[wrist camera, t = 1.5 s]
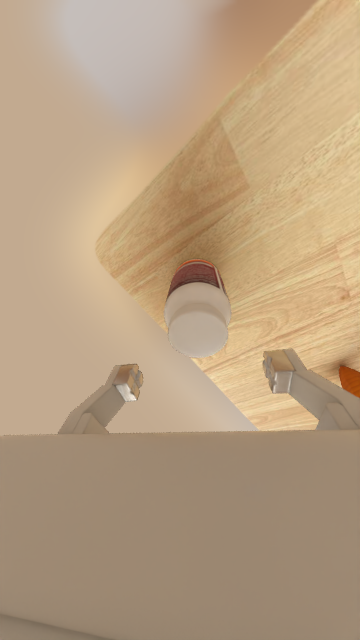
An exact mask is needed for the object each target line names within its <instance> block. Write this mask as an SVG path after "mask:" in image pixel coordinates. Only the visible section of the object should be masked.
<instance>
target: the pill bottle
mask: <svg viewBox="0 0 360 640" xmlns="http://www.w3.org/2000/svg"><path fill="white" fill-rule="evenodd" d="M164 319H165V322H166V325H167V327H168V339H169V342H170V344H171V345H172V347H173V348H174V349H175V350H176V351H178V352H179V353H181V354H183V355H185V356H188V357H194V358H203V357H208V356H211V355H213V354H215V353H217V352H219V351H220V350H221V349H222V348H223V347H224V346H225V344H226V342H227V339H228V328H227V327H228V325H229V322H230V319H231V306H230V302H229V299H228V296H227V293H226V290H225V287H224V284H223V281H222V278H221V275H220V273H219V271H218V269H217V268H216V267H215V266H214V265H213V264H212V263H210V262H209V261H206V260H203V259H191V260H188V261H186V262H184V263H182V264H181V265H180V266H179V267H178V268H177V269H176V271H175V273H174V275H173V278H172V282H171V285H170V289H169V293H168V296H167V300H166V304H165V308H164Z"/></svg>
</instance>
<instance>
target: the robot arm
mask: <svg viewBox="0 0 360 640" xmlns="http://www.w3.org/2000/svg"><path fill="white" fill-rule="evenodd" d="M263 357H264V359H265V360H264V361H263V370H264V373H265V376H266V377H267V378H268V379H269V386H270V388H271V391H272V393H273V394H274V393H289V394H290V395H291V396H292V397H293V398H294V399H296V400H297V401H298V402H299V403H300V404H301V405H302V406H304V407H305V408H306V409H307V410H308V411H309V412H310V413H312V414H313V415H314V416H315V417H316V418H317V419H318V420H319V422H318V425H317V427H316V429H315V430H289V431H231V432H230V431H228V432H173V433H171V432H168V433H109V432H108V431H107V430H106V429H105V427H106V426H107V424H108V423H109V422H110V421H111V419H112V418H113V417H114V416H115V415H116V413H117V412H118V411H119V410H120V409H121V407H122V406H123V405H124V403H125V402H129V401H137V400H138V397H139V393H140V390H139V388H140V387H141V386H142V383H143V375H142V372H141V371H139V370H138V369H139V366H138V365H137V364H127V365H116V366H115V367H114V368H113V370H112V372H111V374H110V376H109V378H108V380H107V382H106V384H105V385H104V386H102V387H100V388H99V389H98V390H97V391H96V392H94V393H93V394H92V395H91V396H90V397H89V398H87V399H86V400H85V401H84V402H83V403H81V404H80V405H79V406H78V407H77V408H76V409H74V410H73V411H72V412H71V413H70V414H69V416H68V418H67V419H66V421H65V423H64V424H63V426H62V428H61V429H60V431H59V432H58V434H46V435H3V436H0V640H360V398H358V397H356V396H355V395H353V394H351V393H349V392H348V391H346V390H344V389H342V388H341V387H339V386H337V385H336V384H334V383H332V382H330V381H329V380H327V379H325V378H323V377H322V376H320V375H318V374H316V373H315V372H313V371H311V370H307V369H306V367H305V366H304V364H303V363H302V361H301V360H300V358H299V357H298V355H297V354H296V352H295V351H294V350H293V349H292V348H291V349H282V350H272V351H264V353H263Z"/></svg>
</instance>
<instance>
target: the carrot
mask: <svg viewBox="0 0 360 640" xmlns="http://www.w3.org/2000/svg"><path fill="white" fill-rule="evenodd" d="M339 377H340V381H341V385H342V387H343V389H344V390H346V391H348V392H349V393H351V394H353V395H355V396H356V397H358V398H360V372H358V371H356V370H354V369H351V368H349V367H346V366H340V368H339Z"/></svg>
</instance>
